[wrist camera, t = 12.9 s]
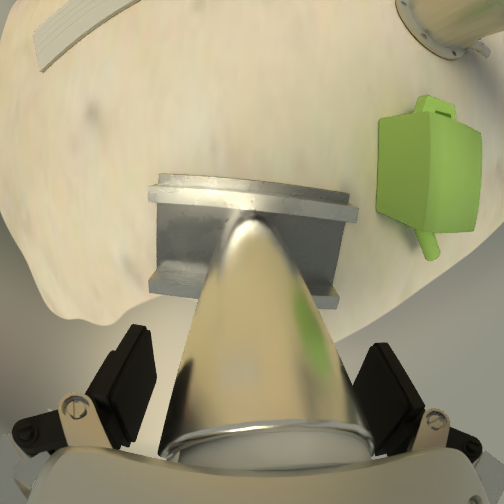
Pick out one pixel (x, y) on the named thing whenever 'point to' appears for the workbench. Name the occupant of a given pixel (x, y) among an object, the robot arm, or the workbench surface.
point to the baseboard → (72, 26)
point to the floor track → (236, 201)
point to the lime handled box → (429, 172)
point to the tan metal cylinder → (261, 367)
